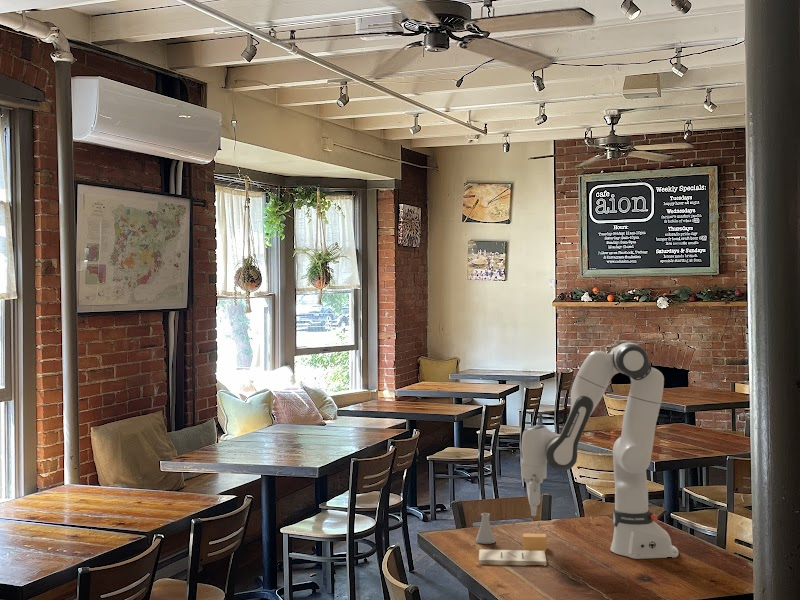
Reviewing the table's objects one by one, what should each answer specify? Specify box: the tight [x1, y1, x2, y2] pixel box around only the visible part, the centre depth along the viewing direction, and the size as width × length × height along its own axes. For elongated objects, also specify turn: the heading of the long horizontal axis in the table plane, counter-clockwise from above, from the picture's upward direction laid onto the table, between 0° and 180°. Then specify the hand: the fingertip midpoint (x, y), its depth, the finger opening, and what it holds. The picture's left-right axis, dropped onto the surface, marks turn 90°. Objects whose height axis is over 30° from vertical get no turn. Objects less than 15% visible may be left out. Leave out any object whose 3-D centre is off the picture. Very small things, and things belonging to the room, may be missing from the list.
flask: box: [475, 512, 496, 545], centre depth 333 cm, size 7×7×10 cm
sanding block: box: [522, 532, 547, 552], centre depth 323 cm, size 8×4×5 cm, turn 83°
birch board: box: [478, 548, 548, 567], centre depth 311 cm, size 22×12×2 cm, turn 84°
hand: (533, 511), depth 323 cm, fingers open, 8 cm apart
